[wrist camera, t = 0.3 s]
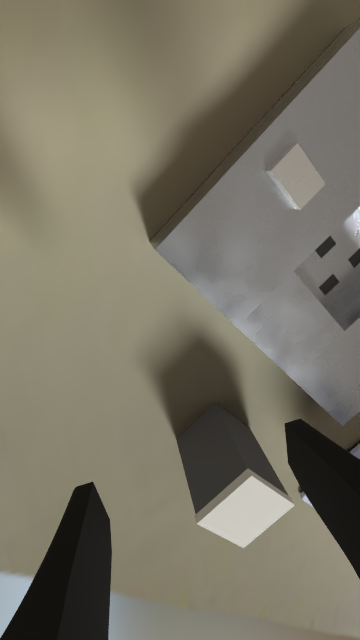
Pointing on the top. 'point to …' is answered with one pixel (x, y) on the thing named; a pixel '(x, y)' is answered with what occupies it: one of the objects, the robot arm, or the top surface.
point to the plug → (230, 478)
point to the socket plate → (288, 231)
